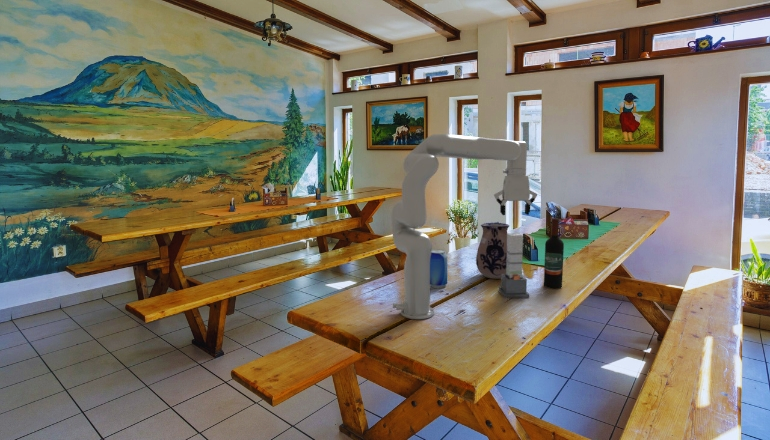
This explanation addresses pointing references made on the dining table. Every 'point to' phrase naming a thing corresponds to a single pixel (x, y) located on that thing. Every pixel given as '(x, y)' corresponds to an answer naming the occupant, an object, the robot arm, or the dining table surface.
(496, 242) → the ceramic pitcher
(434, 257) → the beer can
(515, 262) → the column
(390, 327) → the dining table surface
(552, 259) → the wine bottle
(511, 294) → the stand base
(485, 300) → the dining table surface
